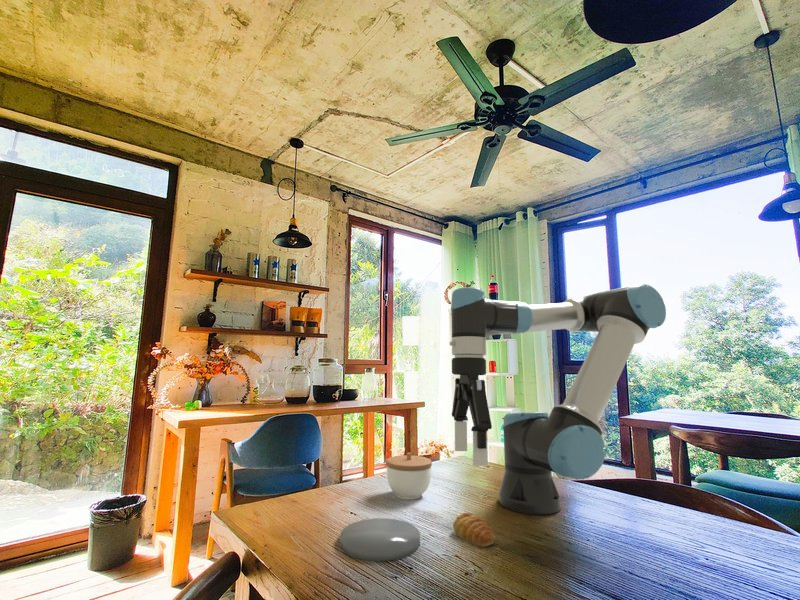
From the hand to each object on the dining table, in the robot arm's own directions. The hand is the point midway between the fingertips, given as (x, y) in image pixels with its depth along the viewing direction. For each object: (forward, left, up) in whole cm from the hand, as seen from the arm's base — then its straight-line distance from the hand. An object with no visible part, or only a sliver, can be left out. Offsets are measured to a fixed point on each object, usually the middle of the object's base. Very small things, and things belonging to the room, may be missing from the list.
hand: (469, 457), depth 83 cm
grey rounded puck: (0, -19, -16) cm, 25 cm away
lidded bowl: (-28, -9, -16) cm, 33 cm away
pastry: (-1, +1, -16) cm, 16 cm away
